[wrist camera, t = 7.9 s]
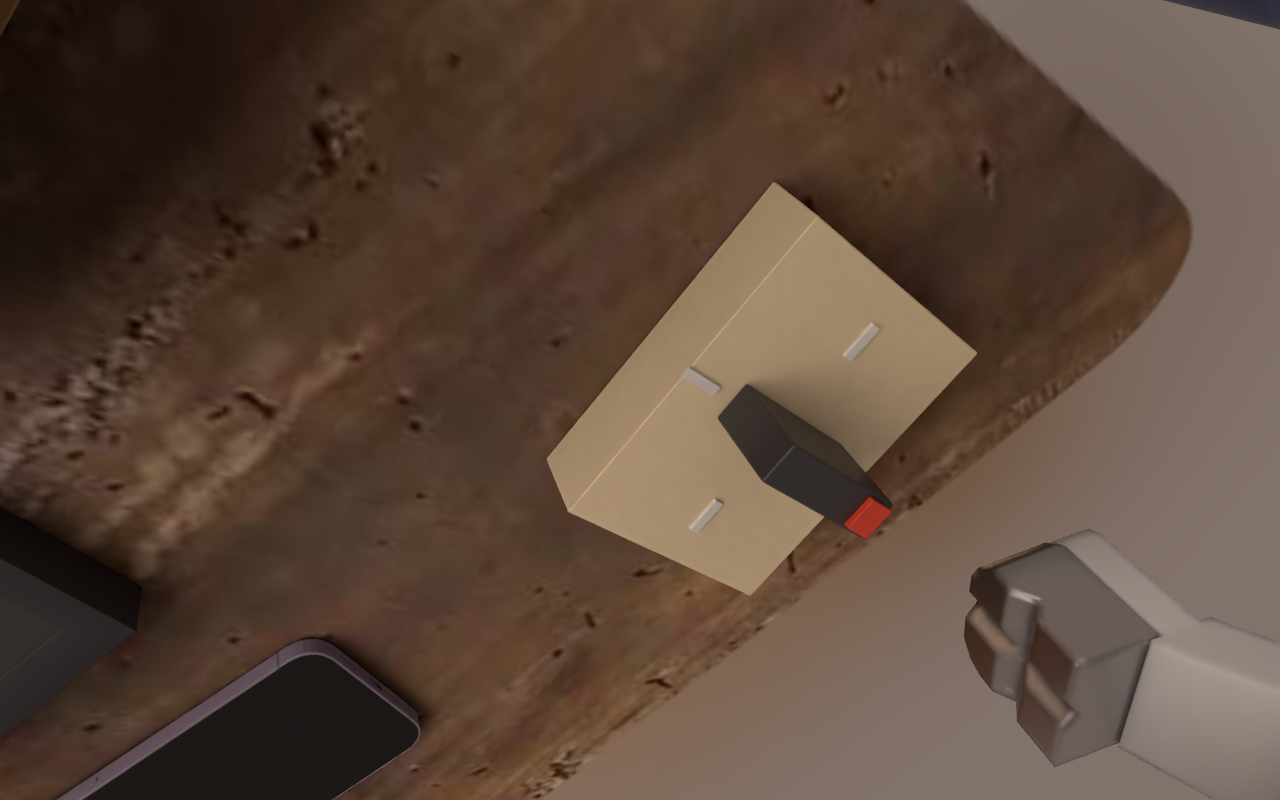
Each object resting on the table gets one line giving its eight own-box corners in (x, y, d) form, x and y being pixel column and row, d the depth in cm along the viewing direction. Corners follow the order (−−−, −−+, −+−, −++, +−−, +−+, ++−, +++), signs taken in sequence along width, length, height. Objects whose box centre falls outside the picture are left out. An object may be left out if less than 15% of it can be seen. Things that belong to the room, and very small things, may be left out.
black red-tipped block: (715, 417, 30) (764, 487, 27) (745, 382, 30) (799, 449, 27) (812, 475, 33) (866, 544, 30) (841, 443, 33) (899, 510, 30)
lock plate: (771, 178, 30) (818, 216, 27) (930, 315, 35) (982, 357, 32) (543, 457, 33) (566, 514, 30) (721, 545, 38) (754, 600, 35)
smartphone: (433, 735, 37) (113, 949, 37) (428, 713, 38) (116, 922, 38) (313, 642, 33) (-51, 884, 33) (311, 619, 34) (-44, 856, 33)
